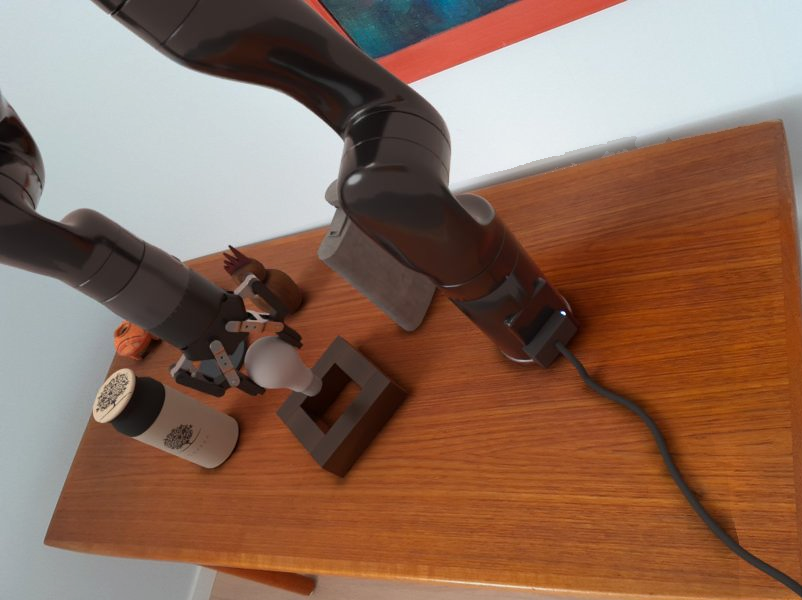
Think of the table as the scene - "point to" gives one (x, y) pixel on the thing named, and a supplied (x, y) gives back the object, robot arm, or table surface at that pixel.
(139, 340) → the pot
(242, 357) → the coaster
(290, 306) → the wooden figurine
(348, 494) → the table surface
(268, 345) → the lightbulb
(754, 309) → the table surface
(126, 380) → the travel mug
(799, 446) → the table surface
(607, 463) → the table surface
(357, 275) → the hip flask
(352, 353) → the bulb stand
